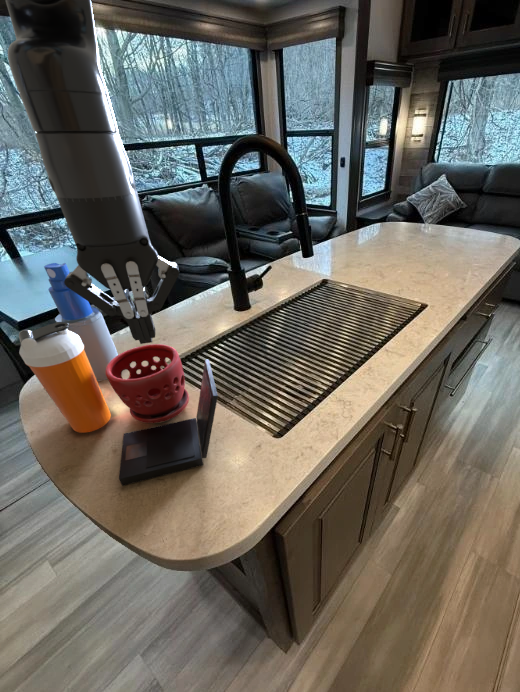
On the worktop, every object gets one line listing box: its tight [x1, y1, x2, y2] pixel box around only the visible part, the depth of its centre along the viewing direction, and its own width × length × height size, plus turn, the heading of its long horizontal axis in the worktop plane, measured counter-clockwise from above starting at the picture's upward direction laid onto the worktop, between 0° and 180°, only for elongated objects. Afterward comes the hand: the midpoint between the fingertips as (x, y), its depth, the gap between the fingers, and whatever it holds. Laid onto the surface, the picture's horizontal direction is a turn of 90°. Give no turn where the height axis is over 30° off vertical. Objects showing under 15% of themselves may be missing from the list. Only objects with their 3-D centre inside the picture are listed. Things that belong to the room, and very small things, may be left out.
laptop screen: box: [195, 358, 219, 459], centre depth 57 cm, size 13×11×1 cm
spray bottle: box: [43, 262, 119, 382], centre depth 73 cm, size 9×9×25 cm
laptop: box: [118, 417, 204, 487], centre depth 59 cm, size 13×11×2 cm
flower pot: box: [106, 343, 190, 424], centre depth 65 cm, size 13×13×12 cm
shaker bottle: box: [18, 322, 112, 434], centre depth 60 cm, size 9×9×20 cm
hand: (146, 340), depth 45 cm, fingers closed
